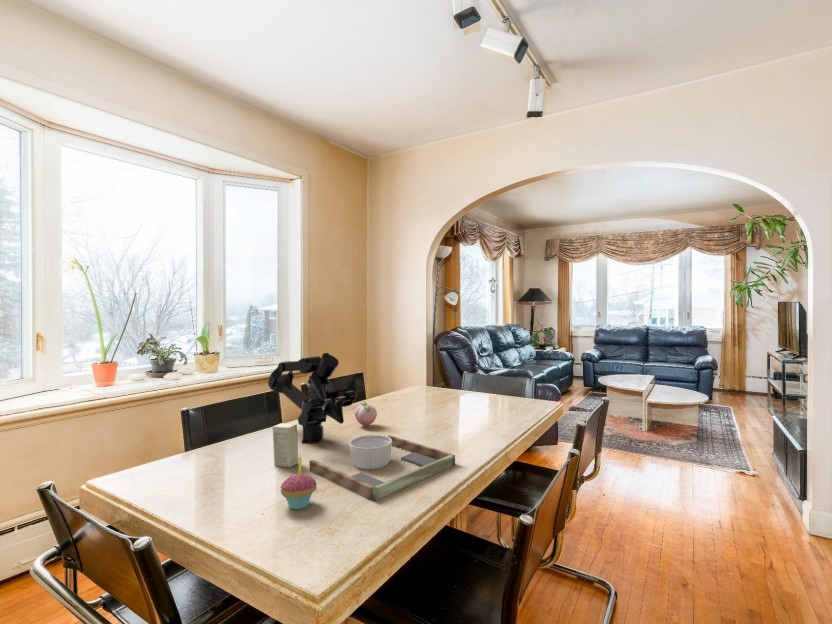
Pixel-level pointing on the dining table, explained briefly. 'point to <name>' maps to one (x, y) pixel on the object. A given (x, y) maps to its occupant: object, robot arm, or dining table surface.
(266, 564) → the dining table surface
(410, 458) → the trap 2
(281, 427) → the skincare box
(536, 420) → the dining table surface
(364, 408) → the decorative fruit
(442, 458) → the wooden u-shaped frame
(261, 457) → the dining table surface
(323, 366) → the robot arm
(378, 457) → the ramekin
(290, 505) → the cupcake
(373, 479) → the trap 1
